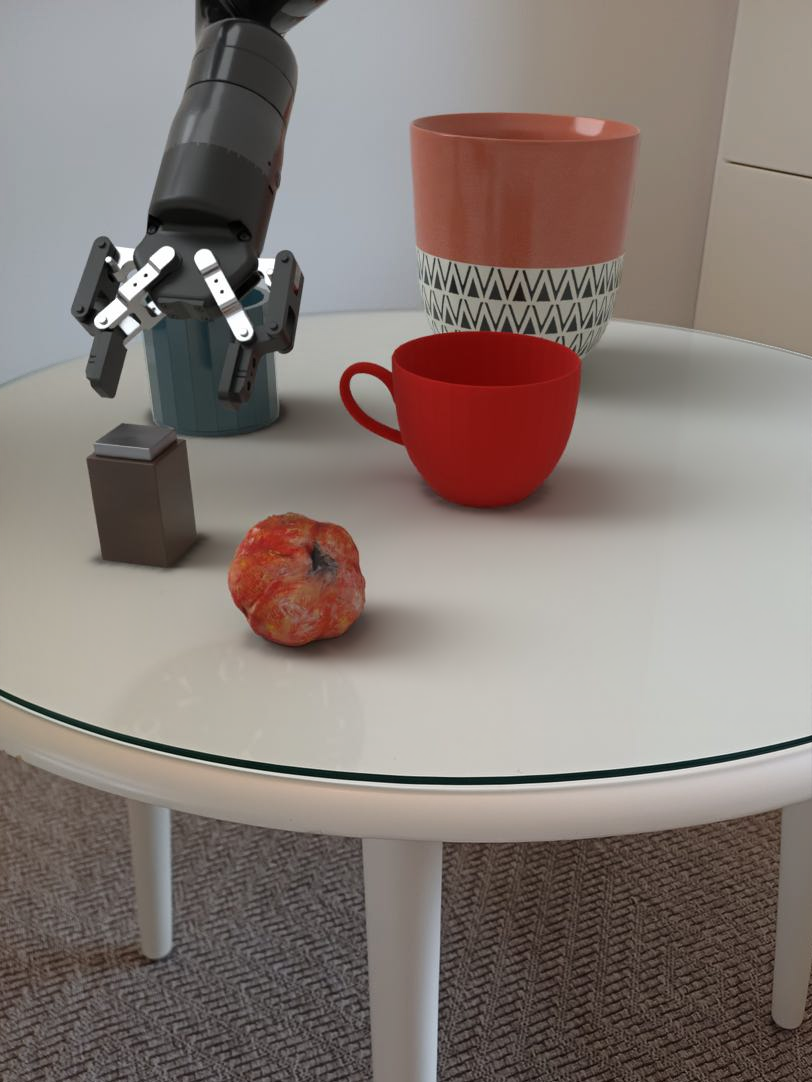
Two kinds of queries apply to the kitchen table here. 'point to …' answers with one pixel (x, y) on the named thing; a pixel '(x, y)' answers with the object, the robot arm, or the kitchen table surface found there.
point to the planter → (522, 222)
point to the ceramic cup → (478, 411)
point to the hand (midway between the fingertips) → (164, 399)
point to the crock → (205, 374)
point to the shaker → (142, 495)
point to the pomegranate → (297, 579)
